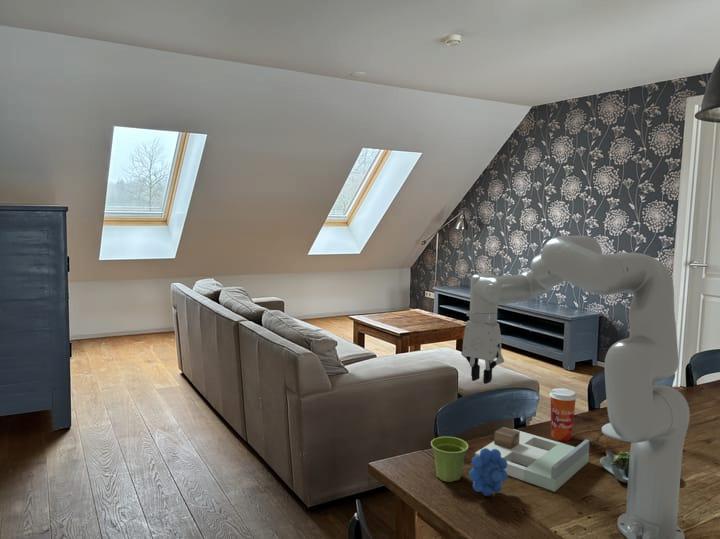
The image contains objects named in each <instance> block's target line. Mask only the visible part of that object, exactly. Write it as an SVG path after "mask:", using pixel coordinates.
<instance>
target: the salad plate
mask: <svg viewBox="0 0 720 539" xmlns="http://www.w3.org/2000/svg"><path fill="white" fill-rule="evenodd" d="M605 454H606V456H602V457H601V458H600V459H599V464H600V466H602V468H604V470H606V471H607V472H608V473H610V474H611V475H612V476H613V477H614V478H616V480H618V481H619V482H621V483H622V484H625V485H627V486H628V473H629V457H630V451H629V452H627V451H626V452H623V451H622V450H619V454H614V452H613V450H611V449H605Z"/></svg>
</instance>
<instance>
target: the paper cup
mask: <svg viewBox="0 0 720 539" xmlns="http://www.w3.org/2000/svg"><path fill="white" fill-rule="evenodd" d="M549 397H550V434H551V436H550V437H551V438H552V437H553V438H552V439H554V440H556V439H557V440H556V441H561V442H568V441H570V439H571V440H572V434H573V428H574V427H573V426H574V420H575V419H574V417H575V408H576V400H577V399H578V396H577V393H576V392H575V391H574V390H571V389H567V388H562V387H561V388H553V389H551V391H550V393H549Z"/></svg>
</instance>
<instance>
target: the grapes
mask: <svg viewBox="0 0 720 539" xmlns="http://www.w3.org/2000/svg"><path fill="white" fill-rule="evenodd" d="M483 448H484V447H483ZM481 449H482V448H481ZM471 465H472V467H473V468H471V469H470V470H469V471H468V477H469V478H470V480H471V481H472V488H473V490H474V491H476V493H482V495H483V496H484V497H490V496H492V495H493V492H494V493H499V492H501V491H502V489H503V482H506V481H507V480H508V478H509V477H508V476H509V475H507V472H506V471H505V470H504V469H506V467H507V461H506V459H505V458H503V457H501V453H500V451H499V450H497V449H492V450H491V451H490V450H489V449H487V448H484V449H482V450H481V451H480V456H475V455H474V456H473V457H472V458H471Z"/></svg>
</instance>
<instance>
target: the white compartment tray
mask: <svg viewBox="0 0 720 539" xmlns="http://www.w3.org/2000/svg"><path fill="white" fill-rule="evenodd" d="M513 430H516V431H519V432H520V437H519V444H518V445H517V446H515V447H514V448H512V449H508V448H505V447H502V446H499V445H495V444H494V440H493V441H491V442H490V443H488V444H487V445H485V446H484V447H482V448H481V449H479V450H476V452H474V457H475V456H480V451H481V450H482V449H484V448H487V449H489V450H490V451H491V450H492V449H497V450H499V451H500V453H501V457H503V458H505V459H506V461H507V467H506V469H504V470H505V471H506V472H507V475H508V476H509V477H512V478H515V479H518V480H521V481H523V482H526V483H529V484H532V485H535V486H537V487H540V488H543V489H546V490H549V491H551V492H554V493H555V492H556V491H557V490H558V489H560V487H562V486H563V485H564V484H565V483H566V482H567V481H568V480H570V479H571V478H572V477H573V476H574V475H575V474H576V473H577V472H579V471H580V470H581V469H582V468H583V467H584V466H585V465H587V464H588V462H589V459H590V458H589V457H590V456H589V454H590V439H584V440H583V441H582V442H581V443H579V444H578V445H577V446H573V445H570V444H566V443H562V442H559V441H557V440H556V441H555V440H552V439H548V438H545V437H542V436H539V435H535V434H532V433H528V432H525V431H521V430H518V429H514V428H513Z"/></svg>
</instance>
